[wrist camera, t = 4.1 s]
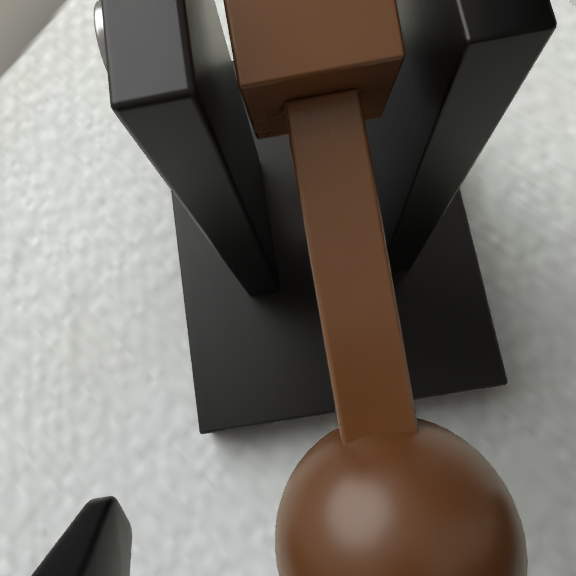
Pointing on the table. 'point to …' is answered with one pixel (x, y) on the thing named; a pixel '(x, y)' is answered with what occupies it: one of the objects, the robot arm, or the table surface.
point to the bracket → (286, 206)
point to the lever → (361, 316)
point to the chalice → (573, 2)
